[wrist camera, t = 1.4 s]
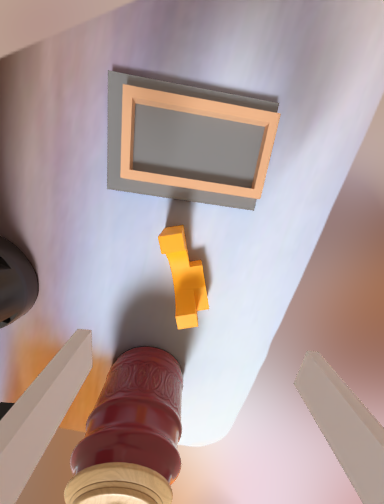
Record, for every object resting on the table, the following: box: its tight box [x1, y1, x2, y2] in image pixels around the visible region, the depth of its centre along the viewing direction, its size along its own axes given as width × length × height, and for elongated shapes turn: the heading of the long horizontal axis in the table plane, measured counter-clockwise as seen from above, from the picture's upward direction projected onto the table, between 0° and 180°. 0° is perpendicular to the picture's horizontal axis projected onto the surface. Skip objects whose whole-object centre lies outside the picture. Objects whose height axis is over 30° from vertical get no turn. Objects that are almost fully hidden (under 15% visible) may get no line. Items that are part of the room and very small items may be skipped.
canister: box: [64, 347, 183, 504], centre depth 24 cm, size 13×13×18 cm
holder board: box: [107, 70, 281, 211], centre depth 21 cm, size 19×12×2 cm, turn 82°
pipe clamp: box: [158, 225, 209, 329], centre depth 23 cm, size 12×4×6 cm, turn 9°
